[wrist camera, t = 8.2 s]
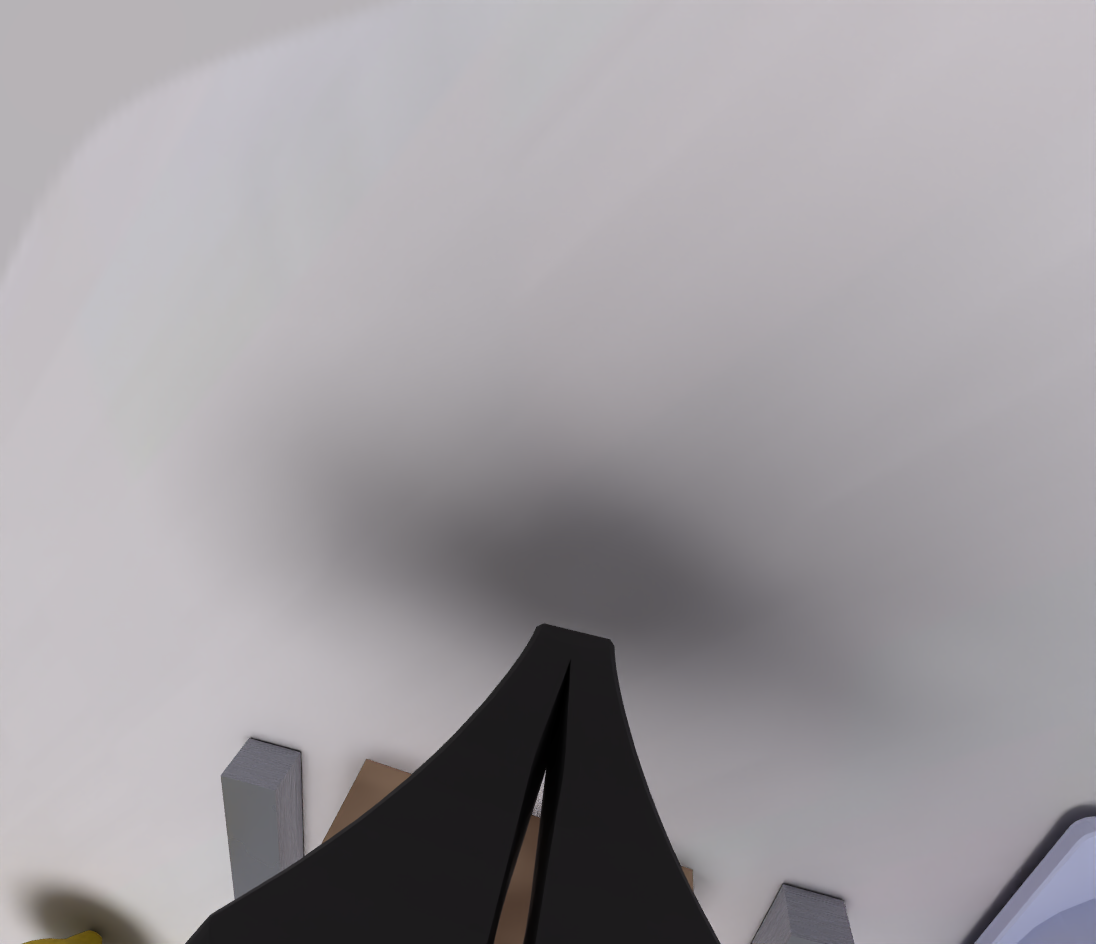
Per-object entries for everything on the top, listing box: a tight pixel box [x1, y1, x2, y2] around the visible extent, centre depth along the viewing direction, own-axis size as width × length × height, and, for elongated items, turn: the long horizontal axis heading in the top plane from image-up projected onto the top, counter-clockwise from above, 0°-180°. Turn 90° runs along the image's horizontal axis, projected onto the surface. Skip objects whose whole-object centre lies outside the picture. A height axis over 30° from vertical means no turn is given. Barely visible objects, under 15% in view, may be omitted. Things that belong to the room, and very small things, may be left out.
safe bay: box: [221, 738, 854, 944], centre depth 17 cm, size 16×8×1 cm, turn 81°
